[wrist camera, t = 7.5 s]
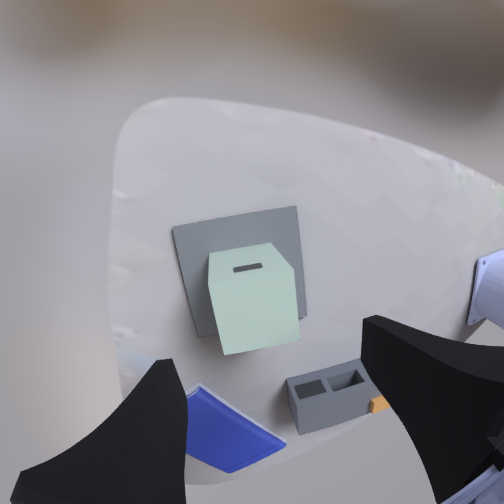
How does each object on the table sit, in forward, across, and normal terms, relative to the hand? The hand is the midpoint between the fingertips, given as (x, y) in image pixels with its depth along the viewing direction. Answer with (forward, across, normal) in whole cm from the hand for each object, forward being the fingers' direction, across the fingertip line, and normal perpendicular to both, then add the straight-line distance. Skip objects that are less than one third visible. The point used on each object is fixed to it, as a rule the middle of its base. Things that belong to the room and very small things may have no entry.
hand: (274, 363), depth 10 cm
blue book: (+11, +6, +16) cm, 20 cm away
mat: (+10, 0, 0) cm, 10 cm away
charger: (+10, 0, 0) cm, 10 cm away
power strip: (+10, -6, +12) cm, 17 cm away
